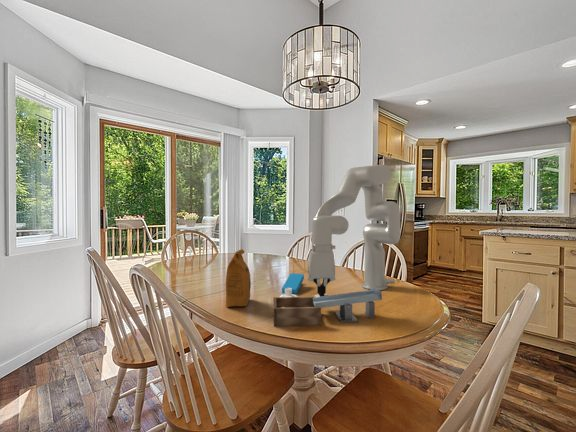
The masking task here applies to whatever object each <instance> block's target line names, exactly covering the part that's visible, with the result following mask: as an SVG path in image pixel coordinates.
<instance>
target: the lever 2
mask: <svg viewBox="0 0 576 432" xmlns="http://www.w3.org/2000/svg"><path fill="white" fill-rule="evenodd" d="M313 297H314V298H313V304H314V306H315V307H321V309H323V308H331V307H338V306H339V307H340V305H345V304H352V305H354V304H360V303H366V302H369V301H373V302H375V301H382V300H383V294H382V290H379V289H378V288H376V287H372V290H370V289H366V290H361V291H353V292H346V293H337V294H331V295H329V294H328V293H327V292H326V294H324V296H321V297H320V296H319V294H314V296H313Z"/></svg>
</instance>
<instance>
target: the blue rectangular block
mask: <svg viewBox="0 0 576 432" xmlns="http://www.w3.org/2000/svg"><path fill="white" fill-rule="evenodd" d="M304 275H305V274H304V273H295V272H294V273H293V272H292V273H290V274H289V275H288V277H287V279H286V280H285V282H284V284H283V285H282V287H281V293H282V294H285V288H292V294H294V295H297V294H298V291H299V290H300V288H301V286H302V284H303V281H304V280H305V276H304Z"/></svg>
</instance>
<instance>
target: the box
mask: <svg viewBox="0 0 576 432" xmlns="http://www.w3.org/2000/svg"><path fill="white" fill-rule="evenodd" d="M314 297H315V296H298V297H295V296H292V297H284V296H282V297H280V296H278V297H277V296H276V297H274V296H273V299H272V300H273V302H272V303H273V327H298V326H299V327H303V326H307V327H308V326H309V327H311V326H312V327H313V326H322V308H321V307H315V306H314V304H313V298H314ZM281 307H285V308H281Z"/></svg>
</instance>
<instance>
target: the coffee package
mask: <svg viewBox="0 0 576 432" xmlns="http://www.w3.org/2000/svg"><path fill="white" fill-rule="evenodd" d="M243 254H245V250H244V249H243V248H240V249H239V250H237V251H234V256H233V257H232V258H231V260H230V262H229V263H228V266H227V268H226V269H227V270H226V273H225V274H226V276H225V307H226V308H230V307H233V308H234V307H239V308H240V307H245V306H247V305H248V303H249V301H250V299H251V282H252V281H251V272H250V269H249V266H248V264H247V263H246V262H245V260H244V257H243Z"/></svg>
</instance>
